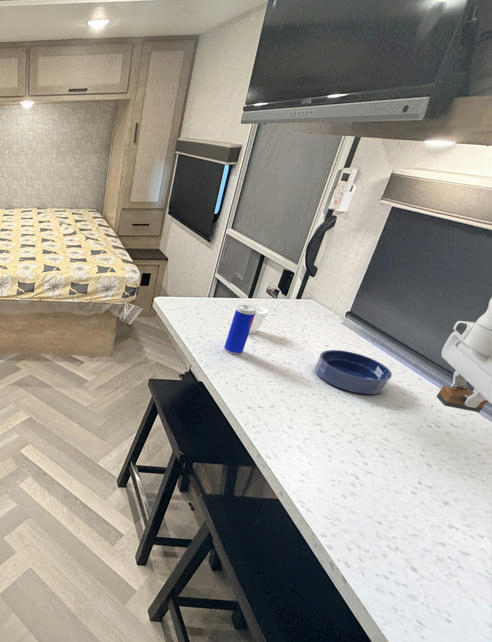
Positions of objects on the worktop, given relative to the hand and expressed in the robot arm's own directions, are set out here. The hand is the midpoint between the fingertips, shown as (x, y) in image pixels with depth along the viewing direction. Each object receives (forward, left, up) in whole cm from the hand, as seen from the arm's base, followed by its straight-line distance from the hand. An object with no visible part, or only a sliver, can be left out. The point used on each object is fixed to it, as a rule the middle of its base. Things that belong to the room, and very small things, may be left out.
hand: (461, 398), depth 84 cm
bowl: (+10, -23, -13) cm, 27 cm away
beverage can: (+38, -28, -13) cm, 48 cm away
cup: (+32, -44, -13) cm, 55 cm away
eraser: (0, 0, -2) cm, 2 cm away
